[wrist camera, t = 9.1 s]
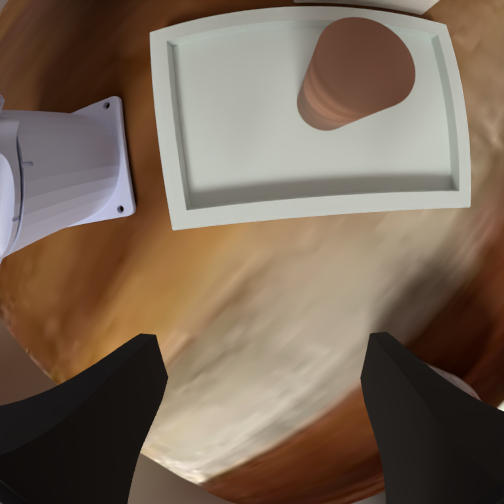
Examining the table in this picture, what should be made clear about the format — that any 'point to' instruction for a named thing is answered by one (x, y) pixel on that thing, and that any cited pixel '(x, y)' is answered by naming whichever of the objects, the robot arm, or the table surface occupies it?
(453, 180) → the tray
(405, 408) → the robot arm
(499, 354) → the table surface
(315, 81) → the pin
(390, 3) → the cup block
